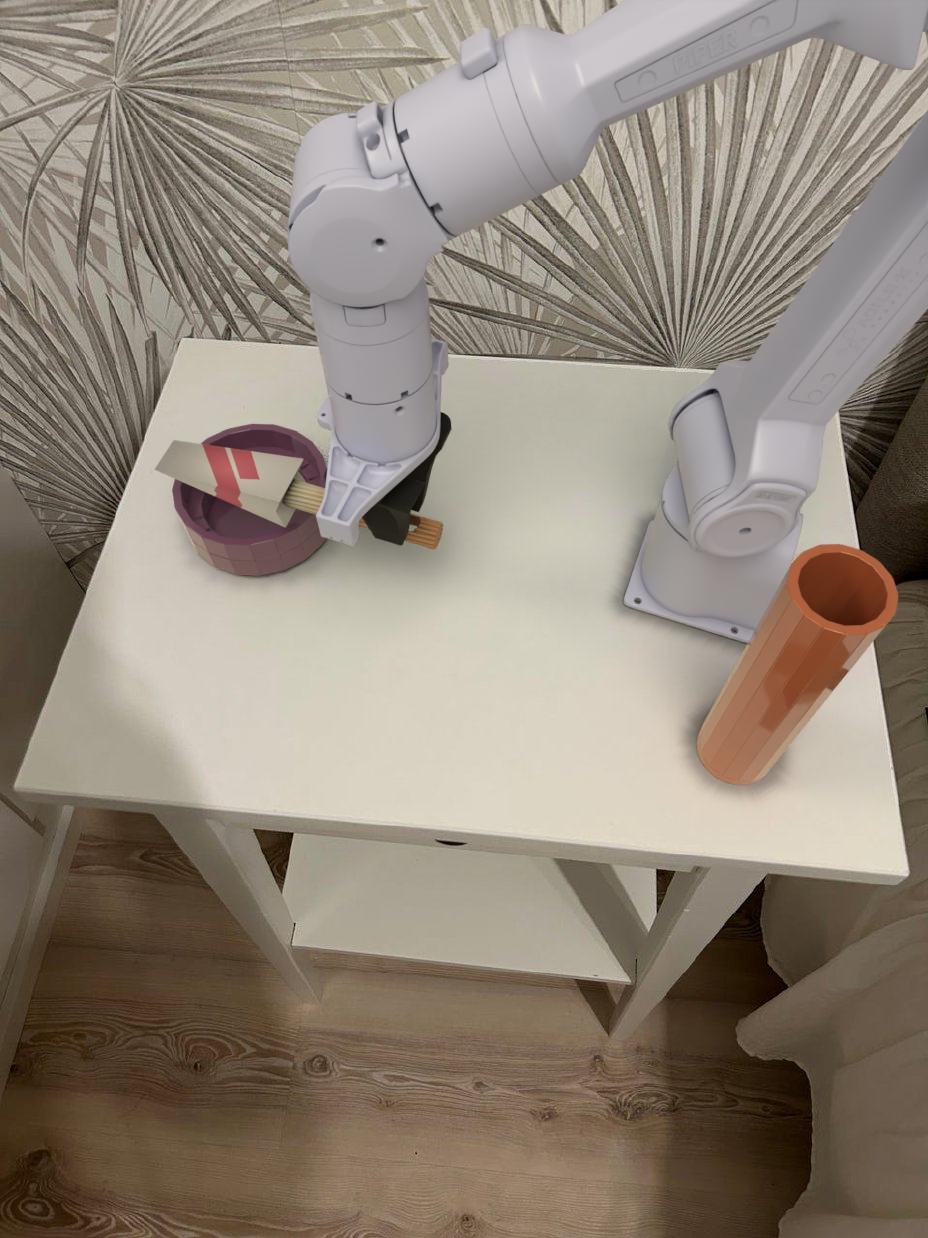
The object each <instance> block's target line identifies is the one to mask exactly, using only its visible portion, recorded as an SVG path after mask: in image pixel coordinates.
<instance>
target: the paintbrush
mask: <svg viewBox="0 0 928 1238" xmlns="http://www.w3.org/2000/svg"><path fill="white" fill-rule="evenodd" d="M302 462H303V459H301V458H294V457H287V456H280V455H274V454H267V453H260V452H253V451H246V450H239V449H233V448H226V447H219V446H212V445H205V444H201V443H198V442H191V441H183V440H178V439H173V440H172V441H171V443H170V445H169V446H168V448H167V449H166V451H165V453H164V454H163V455H162V457H161V459H160V460H159V462H158V463H157V465H156V466H155V468H154V469H153V470H154V471H156V472H159V473H160V474H163V475H165V476H168V477H170V478H172V479H173V480H175V479H177V480H179V481H181V482H183V483H186V484H188V485H190V486H193V487H195V488H197V489H199V490H202V491H204V492H206V493H208V494H211V495H213V496H215V497H217V498H220V499H222V500H224V501H226V502H229V503H231V504H233V505H236V506H238V507H240V508H242V509H245V510H247V511H249V512H251V513H254V514H256V515H258V516H260V517H263V518H265V519H267V520H269V521H272V522H274V523H276V524H279V525H281V526H283V527H285V528H286V526H287V525H288V523H289V521H290V519H291V517H292V515H293V513H294V511H295V510H296V509H299V510H302V511H306V512H309V513H312V514H317V512H318V510H319V508H320V506H321V503H322V501H323V497H324V492H325V488H322V487H319V486H315V485H312V484H309V483H306V481H305V480H304V478H303V477H302V475H301V474H300V473H299V469H300V467H301V464H302ZM410 526H414V527H416V528H414V529H413V530H411V531H410V530H409V532H408V535H407V537H406V539H405V541H404V542H406V543H409V544H414V545H417V546H421V547H423V548H426V549H431V550H436V549H437V547H438V546H439V544H440V541H441V539H442V536H443V530H444V523H443V522H442V521H438V520H435V519H431V518H428V517H425V516H421V515H419V514H415V513H412V512H411V513H410ZM360 528H361V529H364V530H368V531H370V529H369V528H368V526H367V525H366V523H365V522H364V520H363V519H362V518H361V519H360V521H359V529H360Z"/></svg>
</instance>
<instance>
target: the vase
mask: <svg viewBox="0 0 928 1238" xmlns="http://www.w3.org/2000/svg"><path fill="white" fill-rule="evenodd" d="M898 602H899V593H898V589H897V586H896V583H895V579H894V577H893V576H892V574H891V573H890V572H889V571H888V570H887V569H886V567H885V566H884V565H883V564H882V563H881V561H879V560H878V559H877V558H875V557H873V556H872V555H870V554H869V553H867V552H866V551H864V550H861V549H860V548H856V547H852V546H849V545H845V544H841V543H829V544H828V543H827V544H825V543H824V544H818V545H815V546H813V547H811V548H808V549H806V550H803V551H802V552H800V554H799V555H798V556H797V557H796V558H795V559H793V561H792V562H791V565H790V567H789V569H788V571H787V573H786V575H785V576H784V578H783V580H782V582H781V584H780V585H779V587H778V589H777V591H776V593H775V594H774V596H773V598H772V600H771V602H770V604H769V605H768V607H767V609H766V611H765V613H764V614H763V616H762V618H761V620H760V622H759V623H758V625H757V627H756V629H755V631H754V632H753V634H752V636H751V638H750V640H749V642H748V643H746V646H745V647H744V649H743V650H742V652H741V654H740V655H739V658H738V660H737V661H736V663H735V665H734V666H733V669H732V670H731V672H730V674H729V676H728V677H727V680H726V681H725V683H724V685H723V687H722V688H721V691H720V692H719V694H718V696H717V697H716V699H715V701H714V703H713V705H712V707H711V709H710V710H709V712H708V714H707V715H706V717H705V719H704V721H703V723H702V725H701V727H700V730H699V732H698V734H697V739H696V750H697V754H698V755H697V756H698V758H699V760H700V761H701V764H702V765H703V766H704V768H705V769H706V770H707V772H709V773H710V774H711V775H712V776H714V778H716V779H718V780H720V781H722V782H724V783H726V784H731V785H736V786H746V785H750V784H754V783H756V782H758V781H761V780H762V779H763V778H764V777H765V776H766V775H767V774H768V773H769V771H770V770H771V769H772V768H773V767H774V765H776V763H777V762H778V761H779V760H780V758H781V757H782V756H783V754H784V753H785V752H786V751H787V749H788V748H789V747H790V746H791V744H792V743H793V742H794V741H795V739H796V738H797V737H798V736H799V734H800V733H801V732H802V731H803V729H804V728H805V727H806V726H807V724H808V723H809V722H810V721H811V720H812V718H813V717H814V716H815V714H816V713H817V712H818V710H819V709H820V708H821V707H822V706H823V704H824V703H825V702H826V701H827V700H828V698H829V697H830V696H831V694H833V692H834V691H835V690H836V688H837V687H838V686H839V685H840V683H841V682H842V681H843V679H844V678H845V677H846V676H847V675H848V674H849V672H850V671H851V670H852V669H853V667H854V666H855V665H856V663H857V662H858V661H859V659H860V658H861V657H862V656H863V655H864V653H865V652H866V651H867V650H868V648H870V646H871V645H872V643H873V642H874V641H875V640H876V638H877V637H878V636H879V635H880V634H881V632H882V631H883V630H884V629H885V627H886V626H887V625H888V623H889V622H890V621H891V619H893V618H894V616H895V615H896V613H897V608H898Z"/></svg>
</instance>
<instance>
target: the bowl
mask: <svg viewBox="0 0 928 1238" xmlns="http://www.w3.org/2000/svg"><path fill="white" fill-rule="evenodd" d="M200 444H205V445H212V446H219V447H226V448H233V449H239V450H246V451H253V452H260V453H267V454H274V455H280V456H287V457H294V458H301V459H303V462H302V464H301V467H300V469H299V473H300V474H301V475H302V477H303V478H304V480H305V481H306V483H309V484H312V485H315V486H319V487H322V488H325V486H326V483H325V479H324V474H325V471H326V469H327V467H328V466H327V464H326V459H325V457H324V455H323V454H322V452H321V451H320V450H319V448H318V447H317V446H316V444H315V443H314V441H312V440H311V439H309V437H307V436H305V435H304V434H301V433H300V432H298V431H297V430H294V429H291V428H288V427H286V426H285V427H284V426H282V425H277V424H274V423H248V424H244V425H239V426H233V427H230V428H225V429H224V430H222V431H220V432H218V433H214V434H213V435H210V436H209V437H207V438H205V439H204V440H203V441H202V442H200ZM173 480H174V481H173V483H172V484H173V485H172V489H171V491H172V498H173V499H172V500H173V506H174V510H175V512H176V515H177V517H178V518H179V520H180V522H181V525H182V526H183V529H184V531H185V533H186V535H187V537H188V539H189V541H190V543H191V545H192V546H193V548H194V549H195V551H196V552H197V554H198V556H200V557H201V558H202V559H203V560H205V561H206V562H207V563H208V564H210V565H211V566H213V567H214V568H216V569H219V570H222V571H224V572H227V573H231V574H234V575H237V576H265V575H266V576H267V575H269V574H274V573H278V572H283V571H286V570H288V569H290V568H292V567H294V566H295V565H297V564H299V563H301V562H303V561H305V560H306V559H308V558H309V557H310V556H311V555H312V554H313V553H314V552H316V550H317V549H319V548H320V547H321V546H322V545H323V544H324V541H325V540H326V538H324V537H322V536H321V534H320V530H319V526H318V522H317V519H316V514H312V513H309V512H306V511H302V510H299V509H296V510H295V511H294V513H293V515H292V517H291V519H290V521H289V523H288V525H287V526H286V528H285V527H283V526H281V525H279V524H276V523H274V522H272V521H269V520H267V519H265V518H263V517H260V516H258V515H256V514H254V513H251V512H249V511H247V510H245V509H242V508H240V507H238V506H236V505H233V504H231V503H229V502H226V501H224V500H222V499H220V498H217V497H215V496H213V495H211V494H208V493H206V492H204V491H202V490H199V489H197V488H195V487H193V486H190V485H188V484H186V483H183V482H181V481H179V480H177V479H173Z"/></svg>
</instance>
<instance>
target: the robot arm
mask: <svg viewBox="0 0 928 1238" xmlns="http://www.w3.org/2000/svg"><path fill="white" fill-rule="evenodd" d="M923 33H924V35H925V39H926V43H927V45H928V0H623V1H621V2H620V3H618V4H617V5H615V6H613V7H611V8H610V9H609V10H607V11H606V12H604V13H603V14H601V15H600V16H598V17H597V18H595V19H594V20H592V21H591V22H589V23H587V24H586V25H584V26H583V27H581V28H580V29H578V30H577V31H575V32H574V33H572V34H566V33H562V32H558V31H554V30H551V29H547V28H544V27H542V26H538V25H536V24H535V25H534V24H531V23H522V24H520V25H517V26H516V27H515V28H513V29H511V30H510V31H508V32H506V33H505V34H503V35H501V36H499V37H497V38H496V39H495V37H494V34H493V32H492V31H491V29H490V28H488V27H484V28H482V29H481V30H479V31H477V32H476V33H474V34H472V35H470V36H469V37H467V38H465V39H463V40H462V41H461V42H460V44H459V55H460V60H459V61H457V62H455V63H453V64H452V65H450V66H449V67H447V68H444V70H442V71H440V72H439V73H437V74H435V75H434V76H432V77H430V78H428V79H426V80H425V81H423V82H421V83H420V84H418V85H416V86H415V87H412V88H411V89H410V90H408V91H406V92H405V93H403V94H401V95H399V96H398V97H396V98H394V99H393V100H391V101H389V102H388V103H387V104H384V105H383V106H381V103H380V102H379V101H377V100H373V101H372V102H370V103H367V104H366V105H365V106H363V107H362V108H359V109H358V110H357V112H355V113H353V112H342V113H341V112H340V113H338V114H334V115H331V116H328V117H326V118H324V119H321V120H320V121H319V122H317V123H316V124H315V125H313V126H312V127H311V128H310V129H309V130H308V131H307V132H306V133H305V135H304V136H303V138H302V139H301V141H300V147H299V148H297V149H296V153H295V157H294V161H293V163H294V164H293V169H292V182H291V192H290V200H289V211H288V221H287V248H288V249H287V250H288V256H289V260H290V263H291V266H292V268H293V270H294V272H295V273H296V275H297V276H298V279H300V281H301V282H302V283H303V284H304V285H305V286H306V287H307V288H308V290H309V307H310V311H311V317H312V322H313V326H314V327H313V328H314V332H315V336H316V341H317V346H318V351H319V356H320V357H319V358H320V361H321V366H322V371H323V375H324V381H325V385H326V389H327V395H328V396H327V398H325V399H324V401H323V403H322V405H321V406H320V407H319V410H318V412H317V414H316V419H317V423H318V426H319V427H320V428H322V429H325V430H328V431H330V439H329V441H330V442H329V449H328V457H327V458H328V459H327V466H326V467H327V469H326V471H325V474H324V479H325V483H326V486H325V492H324V497H323V501H322V503H321V506H320V508H319V510H318V512H317V514H316V519H317V522H318V526H319V530H320V534H321V536H322V537H324V538H325V539H329V540H331V541H333V542H337V543H341V544H345V545H348V546H351V547H354V546H355V545H356V543H357V541H358V539H359V537H360V535H361V530H360V527H359V521H360V519H361V518H362V519H363V520H364V522H365V523H366V525H367V526H368V528H369V529H370V530H369V531H370V532H371V534H372V536H373V537H374V539H376V540H377V539H378V540H380V541H384V542H387V543H390V544H394V545H397V546H400V547H401V546H403V545H404V543H405V542H406V541H405V539H406V537H407V535H408V532H409V531H410V526H411V525H410V513H411V514H412V512H411V511H413V512H416V513H420V511H421V508H422V507H423V504H424V502H425V499H426V496H427V491H428V488H429V484H430V480H431V479H430V478H431V474H432V469H433V466H434V463H435V460H436V457H437V456H438V454H439V453H440V452H441V451H442V450H443V448H444V446H445V443H446V441H447V440H448V437H449V436H450V434H451V431H452V420H451V418H450V417H449V415H448V414H446V413H445V412H442V380H443V379H442V377H443V376H444V375H445V373H446V372H447V370H448V368H449V343H448V342H447V341H444V340H440V339H436V338H432V331H431V313H430V298H429V297H430V296H429V295H430V293H429V288H428V284H427V281H426V278H425V276H424V275H425V273H426V271H427V267H428V264H429V263H430V261H431V260H432V259H433V258H434V257H436V256H438V255H439V254H441V253H443V252H445V251H444V250H445V247H444V246H445V245H447V243H448V242H450V241H452V240H454V239H456V238H459V236H462V235H464V234H466V233H469V232H470V231H472V230H473V229H476V228H478V227H479V226H482V225H484V224H486V223H487V222H490V221H492V220H494V219H496V218H497V217H500V216H501V215H503V214H506V213H507V212H509V211H511V210H513V209H515V208H517V207H519V206H521V205H524V204H525V203H527V202H530V201H532V200H533V199H535V198H537V197H539V196H541V195H543V194H545V193H548V192H549V191H551V190H554V189H555V188H558V187H559V186H562V185H563V184H565V183H567V182H570V181H571V180H574V179H576V178H578V177H579V176H581V174H582V173H583V172H584V170H585V168H586V166H587V163H588V161H589V160H590V157H591V155H592V153H593V150H594V148H595V146H596V144H597V142H598V140H599V137H600V136H601V135H602V133H603V131H604V130H605V129H606V128H607V127H609V126H612V125H614V124H616V123H618V122H619V123H620V122H621V121H623V120H626V119H628V118H630V117H633V116H634V115H637V114H640V113H641V112H644V111H646V110H648V109H651V108H652V107H656V106H657V105H660V104H662V103H664V102H666V101H669V100H671V99H673V98H676V97H678V96H681V95H682V94H685V93H687V92H689V91H691V90H694V89H697V88H698V87H701V86H703V85H706V84H708V83H710V82H712V81H714V80H716V79H719V78H721V77H723V76H726V75H728V74H730V73H732V72H735V71H737V70H739V69H742V68H744V67H746V66H749V65H751V64H753V63H755V62H759V61H760V60H762V59H765V58H768V57H770V56H772V55H774V54H777V53H778V52H781V51H784V50H786V49H788V48H790V47H792V46H794V45H797V44H800V43H801V42H804V41H806V40H809V39H820V40H823V41H826V42H829V43H831V44H833V45H836V46H838V47H841V48H844V49H846V50H849V51H852V52H853V53H857V54H859V55H861V56H864V57H867V58H869V59H871V60H875V61H877V62H879V63H882V64H884V65H888V66H890V67H892V68H895V69H897V70H901V71H912V70H914V69H915V67H916V65H917V61H918V60H917V59H918V55H919V50H920V45H921V41H922V37H923ZM926 311H928V110H927V111H926V112H925V114H924V115H923V117H922V118H921V119H920V121H919V122H918V124H917V125H916V126H915V128H914V129H913V131H912V132H911V134H910V135H909V136H908V138H907V139H906V141H905V142H904V143H903V145H902V146H901V148H900V149H899V150H898V151H897V153H896V154H895V156H894V158H893V159H892V160H891V161H890V163H889V164H888V166H887V167H886V169H885V170H884V171H883V173H882V174H881V176H880V177H879V178H878V180H877V182H876V183H875V184H874V185H873V187H872V189H871V190H870V191H869V192H868V194H867V195H866V197H865V198H864V200H863V201H862V202H861V204H860V205H859V206H858V208H857V210H856V211H855V213H854V214H853V215H852V216H851V218H850V219H849V221H848V222H847V224H846V225H845V226H844V228H843V229H842V231H840V233H839V235H838V236H837V238H836V239H835V241H833V243H832V245H830V247H829V249H828V250H827V252H826V253H825V254H824V255H823V257H822V258H821V260H820V262H818V264H817V266H816V267H815V269H814V270H813V271H812V273H811V274H810V275H809V277H808V278H807V280H806V281H805V282H804V284H803V285H802V287H801V288H800V290H799V291H798V292H797V293H796V295H795V296H794V298H793V299H792V300H791V302H790V303H789V305H788V307H787V308H786V309H785V311H784V312H783V314H781V316H780V318H779V319H778V321H777V322H776V323H775V325H774V326H773V328H772V329H771V330H770V332H769V333H768V335H767V336H766V337H765V339H764V340H763V341H762V343H761V344H760V345H759V347H758V348H757V350H756V351H755V353H754V355H752V356H751V358H750V360H727V361H722V362H720V363H718V365H717V367H716V368H715V370H714V371H713V373H711V375H710V376H709V378H708V379H706V380H705V381H704V383H702V384H701V385H700V386H698V387H697V388H695V389H694V390H692V391H690V392H689V393H688V394H686V395H685V396H684V397H683V398H681V399H680V400H679V401H678V403H676V405H675V406H674V407H673V409H672V411H671V413H670V415H669V417H668V431H669V436H670V439H671V440H672V441H673V443H674V448H675V454H676V458H675V461H674V466H673V467H672V469H671V470H670V472H669V474H668V476H667V477H666V480H665V482H664V485H663V488H662V491H661V496H660V498H659V503H658V505H657V509H656V512H655V515H654V519H652V520H651V521H649V523H648V526H647V529H646V532H645V535H644V537H643V541H642V543H641V546H640V549H639V552H638V554H637V558H636V561H635V563H634V567H633V570H632V573H631V576H630V578H629V582H628V585H627V588H626V591H625V594H624V597H623V604H624V605H625V606H626V607H628V608H631V609H635V610H638V611H642V612H643V613H648V614H651V615H654V616H657V617H660V618H663V619H666V620H670V621H673V622H676V623H680V624H683V625H686V626H690V627H692V628H696V629H699V630H703V631H704V632H705V631H706V632H709V633H712V634H716V635H719V636H721V637H726V638H728V639H731V640H735V641H737V642H742V643H745V644H747V643H748V642H749V640H750V638H751V636H752V634H753V632H754V631H755V629H756V627H757V625H758V623H759V622H760V620H761V618H762V616H763V614H764V613H765V611H766V609H767V607H768V605H769V604H770V602H771V600H772V598H773V596H774V594H775V593H776V591H777V589H778V587H779V585H780V584H781V582H782V580H783V578H784V576H785V575H786V573H787V571H788V569H789V567H790V566H791V564H792V563H793V561H794V557H795V553H796V551H797V548H798V545H799V540H800V536H801V533H802V529H803V523H804V514H803V513H801V509H802V507H803V505H804V504H805V502H806V501H807V500H808V499H809V498H810V497H811V495H813V493H814V492H815V491H816V490H817V487H818V483H819V477H820V470H821V462H822V455H823V454H822V453H823V445H824V438H825V431H826V427H827V424H828V423H829V422H830V421H831V420H832V419H833V418H834V416H835V415H836V414H837V413H838V412H839V411H840V410H841V408H842V407H843V406H844V405H845V404H846V403H847V402H848V400H849V399H850V398H851V397H852V396H853V395H854V394H855V392H856V391H857V390H858V389H859V388H860V387H861V386H862V385H863V384H864V382H865V381H866V380H867V379H868V378H869V377H870V376H871V374H872V373H874V371H875V369H877V368H878V366H879V365H880V364H881V363H882V362H883V360H884V359H886V357H887V356H888V355H889V354H890V352H891V351H893V349H894V348H895V347H896V346H897V345H898V343H899V342H900V341H901V340H903V338H904V337H905V336H906V335H907V333H908V332H909V331H910V330H911V329H912V327H913V326H914V325H915V324H916V323H917V322H918V321H919V320H920V318H921V317H922V316H923V315H924V314H925V313H926ZM636 601H637V602H639V603H636ZM732 631H735V633H734V632H732Z"/></svg>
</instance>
